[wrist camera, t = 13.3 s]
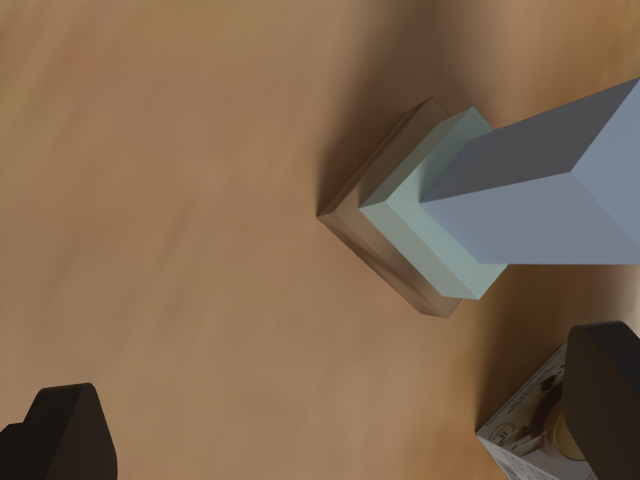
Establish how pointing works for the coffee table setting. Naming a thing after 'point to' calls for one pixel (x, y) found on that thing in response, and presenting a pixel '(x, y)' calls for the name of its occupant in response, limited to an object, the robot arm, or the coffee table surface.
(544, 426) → the coffee box
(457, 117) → the sage slab
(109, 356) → the coffee table surface
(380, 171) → the walnut slab
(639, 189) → the slate pillar
